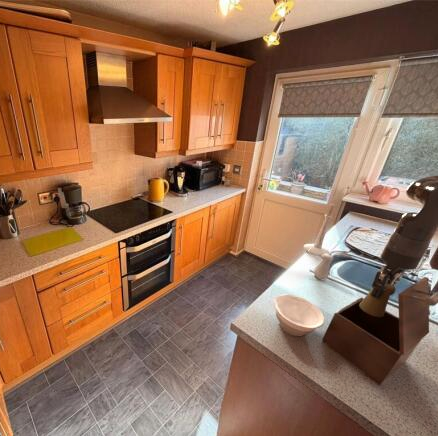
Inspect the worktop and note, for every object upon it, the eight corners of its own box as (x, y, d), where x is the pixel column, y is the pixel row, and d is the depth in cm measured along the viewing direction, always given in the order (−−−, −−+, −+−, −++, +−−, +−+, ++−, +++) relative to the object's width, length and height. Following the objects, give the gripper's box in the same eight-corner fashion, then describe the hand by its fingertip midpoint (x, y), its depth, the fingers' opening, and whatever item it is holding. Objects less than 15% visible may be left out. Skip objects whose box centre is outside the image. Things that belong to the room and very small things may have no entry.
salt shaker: (329, 279, 113) (338, 257, 108) (320, 282, 111) (329, 259, 106) (318, 272, 118) (326, 251, 113) (309, 274, 117) (317, 253, 111)
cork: (388, 319, 72) (404, 291, 67) (364, 314, 73) (378, 287, 69) (377, 305, 77) (392, 278, 72) (355, 300, 79) (368, 275, 74)
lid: (398, 294, 62) (427, 301, 57) (424, 276, 68) (452, 281, 63) (399, 353, 63) (427, 365, 59) (425, 331, 70) (452, 340, 65)
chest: (321, 340, 83) (334, 312, 77) (347, 324, 89) (361, 297, 83) (379, 385, 69) (401, 355, 63) (405, 362, 76) (426, 332, 70)
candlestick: (302, 243, 145) (317, 198, 133) (327, 248, 140) (345, 201, 127) (304, 252, 135) (320, 205, 122) (331, 258, 129) (350, 209, 117)
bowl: (321, 326, 88) (328, 309, 85) (311, 354, 78) (319, 336, 75) (276, 304, 99) (281, 288, 95) (262, 326, 88) (267, 309, 85)
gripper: (411, 262, 59) (383, 310, 67) (434, 249, 65) (406, 295, 72) (375, 248, 66) (353, 294, 73) (399, 237, 71) (376, 281, 78)
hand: (379, 294), depth 72 cm, fingers closed on cork, 5 cm apart
